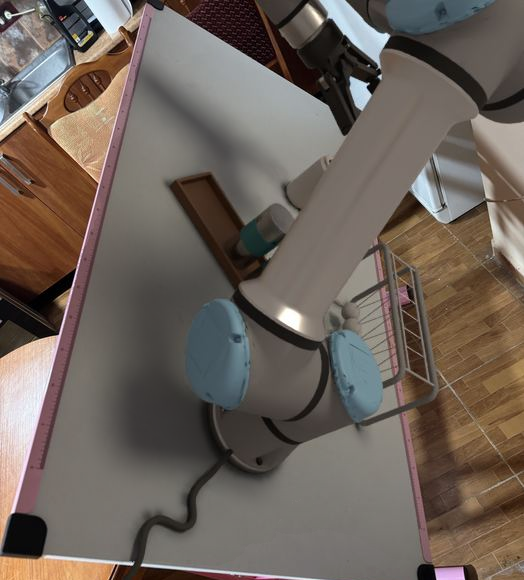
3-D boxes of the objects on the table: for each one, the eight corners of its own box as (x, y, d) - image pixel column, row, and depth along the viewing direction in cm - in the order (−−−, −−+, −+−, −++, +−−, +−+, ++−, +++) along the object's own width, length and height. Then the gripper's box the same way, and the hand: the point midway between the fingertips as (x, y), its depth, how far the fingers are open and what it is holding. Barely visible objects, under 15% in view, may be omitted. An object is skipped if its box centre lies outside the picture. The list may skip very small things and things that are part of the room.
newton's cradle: (359, 430, 105) (442, 398, 94) (321, 412, 99) (404, 377, 88) (349, 302, 121) (418, 263, 110) (315, 281, 115) (385, 237, 104)
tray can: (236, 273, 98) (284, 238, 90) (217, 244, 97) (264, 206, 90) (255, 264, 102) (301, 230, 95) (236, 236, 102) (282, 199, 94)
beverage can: (283, 180, 123) (324, 146, 115) (303, 194, 126) (344, 162, 119) (285, 201, 119) (326, 168, 112) (305, 215, 123) (347, 184, 116)
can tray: (255, 320, 97) (263, 315, 96) (169, 185, 95) (175, 179, 94) (284, 301, 105) (291, 296, 103) (204, 177, 103) (210, 171, 102)
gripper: (314, 12, 101) (381, 103, 111) (274, 87, 87) (355, 183, 97) (346, -16, 95) (414, 82, 105) (309, 59, 82) (391, 164, 92)
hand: (386, 131), depth 101 cm, fingers open, 13 cm apart
